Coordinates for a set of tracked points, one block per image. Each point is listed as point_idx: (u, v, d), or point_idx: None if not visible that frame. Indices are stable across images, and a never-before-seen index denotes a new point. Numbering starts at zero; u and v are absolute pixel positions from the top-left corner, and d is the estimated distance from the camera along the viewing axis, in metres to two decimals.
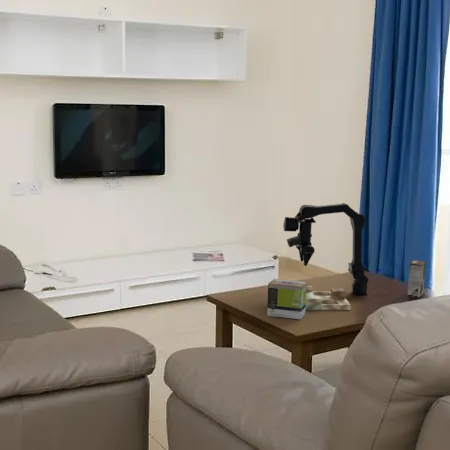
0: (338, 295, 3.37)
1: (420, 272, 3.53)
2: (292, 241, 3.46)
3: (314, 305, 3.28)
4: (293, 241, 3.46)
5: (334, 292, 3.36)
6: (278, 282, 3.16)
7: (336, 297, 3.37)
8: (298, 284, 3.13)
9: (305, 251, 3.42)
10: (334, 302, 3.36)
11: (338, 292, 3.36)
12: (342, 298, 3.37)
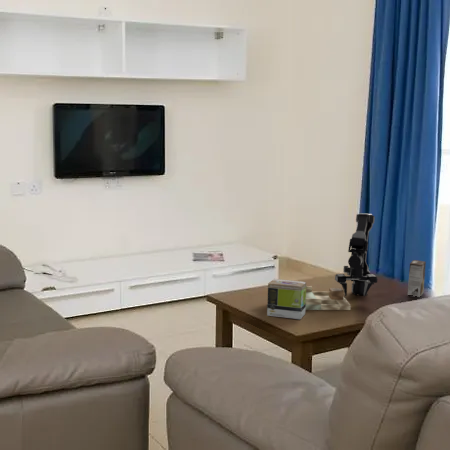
0: (336, 295, 3.36)
1: (420, 272, 3.53)
2: None
3: (314, 305, 3.28)
4: (344, 268, 3.44)
5: (333, 292, 3.36)
6: (278, 282, 3.16)
7: (334, 297, 3.37)
8: (298, 284, 3.13)
9: (335, 279, 3.39)
10: (334, 302, 3.36)
11: (337, 292, 3.36)
12: (341, 298, 3.37)
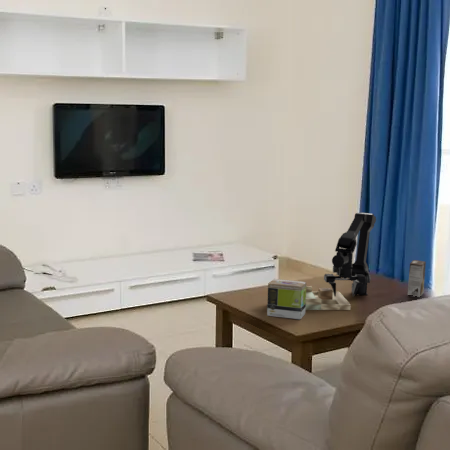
0: (325, 294, 3.36)
1: (420, 272, 3.53)
2: (333, 268, 3.44)
3: (314, 305, 3.28)
4: (333, 268, 3.43)
5: (322, 292, 3.36)
6: (278, 282, 3.16)
7: (323, 297, 3.36)
8: (298, 284, 3.13)
9: (324, 278, 3.39)
10: (334, 302, 3.36)
11: (326, 292, 3.36)
12: (330, 298, 3.37)
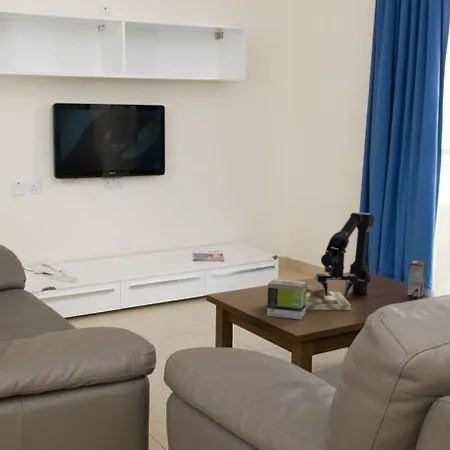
0: (317, 294, 3.36)
1: (420, 272, 3.53)
2: None
3: (314, 305, 3.28)
4: (325, 268, 3.43)
5: (313, 292, 3.35)
6: (278, 282, 3.16)
7: (315, 297, 3.36)
8: (298, 284, 3.13)
9: (316, 278, 3.38)
10: (334, 302, 3.36)
11: (317, 292, 3.35)
12: (321, 298, 3.36)
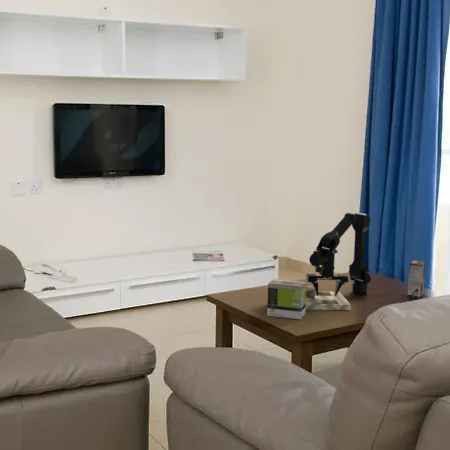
0: (308, 294, 3.35)
1: (420, 272, 3.53)
2: (315, 268, 3.43)
3: (314, 305, 3.28)
4: (315, 268, 3.43)
5: None
6: (278, 282, 3.16)
7: None
8: (298, 284, 3.13)
9: (306, 278, 3.38)
10: (334, 302, 3.36)
11: (308, 292, 3.35)
12: (312, 298, 3.36)
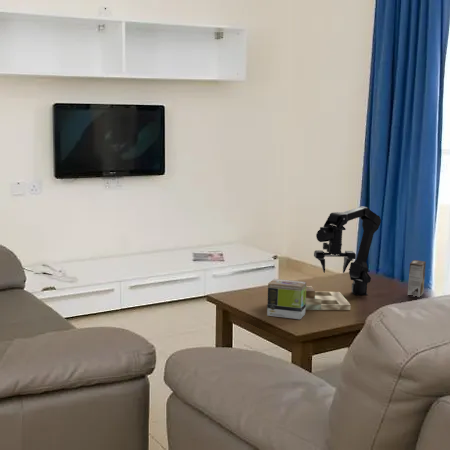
0: (308, 294, 3.35)
1: (420, 272, 3.53)
2: (323, 245, 3.48)
3: (314, 305, 3.28)
4: (323, 245, 3.47)
5: None
6: (278, 282, 3.16)
7: None
8: (298, 284, 3.13)
9: (314, 255, 3.43)
10: (334, 302, 3.36)
11: (308, 292, 3.35)
12: (312, 298, 3.36)
